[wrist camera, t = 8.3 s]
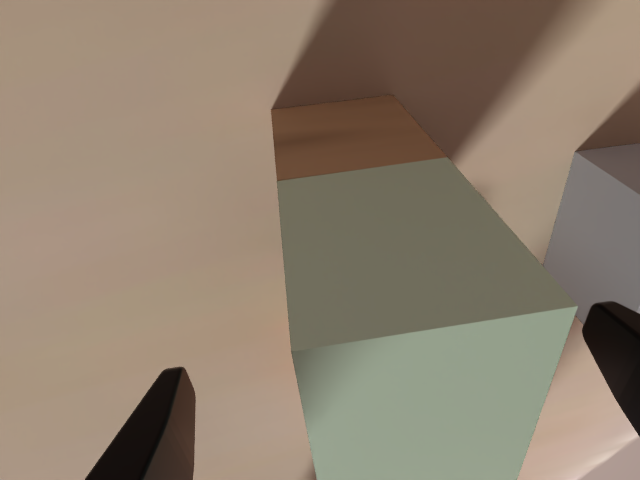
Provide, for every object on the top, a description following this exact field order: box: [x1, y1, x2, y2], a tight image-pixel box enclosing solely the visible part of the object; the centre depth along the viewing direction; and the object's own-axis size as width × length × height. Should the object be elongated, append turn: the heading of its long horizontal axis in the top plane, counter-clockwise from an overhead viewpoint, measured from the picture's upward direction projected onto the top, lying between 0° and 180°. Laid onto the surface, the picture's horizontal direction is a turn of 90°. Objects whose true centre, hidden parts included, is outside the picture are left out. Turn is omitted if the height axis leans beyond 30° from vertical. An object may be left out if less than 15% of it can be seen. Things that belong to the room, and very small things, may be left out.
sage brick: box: [277, 157, 578, 480], centre depth 10 cm, size 6×4×5 cm, turn 5°
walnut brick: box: [271, 95, 447, 181], centre depth 14 cm, size 6×4×5 cm, turn 5°
